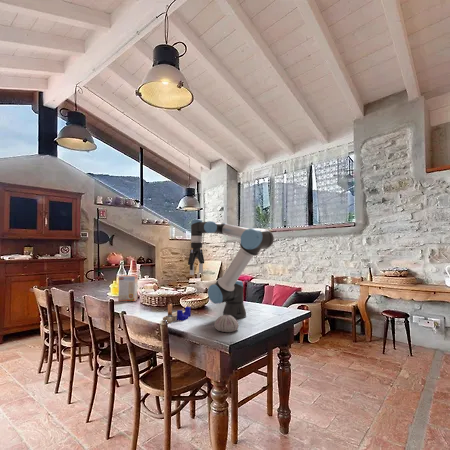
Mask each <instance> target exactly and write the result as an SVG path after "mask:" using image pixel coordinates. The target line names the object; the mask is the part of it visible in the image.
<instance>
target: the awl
mask: <svg viewBox="0 0 450 450" xmlns="http://www.w3.org/2000/svg"><path fill="white" fill-rule="evenodd" d="M172 313H173V303H169V304H167V316H168V317H172Z"/></svg>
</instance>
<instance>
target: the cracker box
mask: <svg viewBox="0 0 450 450" xmlns="http://www.w3.org/2000/svg"><path fill="white" fill-rule="evenodd" d="M138 277H139V276H138V275H126V274H125V275H119V276H118V302H119V301H135V302H137V301H138V280H139V279H138ZM136 300H137V301H136Z"/></svg>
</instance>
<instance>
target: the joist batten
mask: <svg viewBox="0 0 450 450" xmlns="http://www.w3.org/2000/svg"><path fill="white" fill-rule="evenodd" d="M184 312H185V310H183V314H184ZM163 320H167V322H168V323H167V324H172V323H174V322H176V321H178V320H177V311H175V312H172V317H168V315H165V316H163V317H162V321H163Z"/></svg>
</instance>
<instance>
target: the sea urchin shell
mask: <svg viewBox="0 0 450 450" xmlns="http://www.w3.org/2000/svg"><path fill="white" fill-rule="evenodd" d="M214 328H215V329H216V330H217V331H219V332H222V333H224V332H225V333H232V332H235V331H238V329H239V322H238V320H237V319H235V318H234V317H233V316H231V315H223V314H222V315H221V316H219V317H218V318H216V320H215V321H214Z"/></svg>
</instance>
